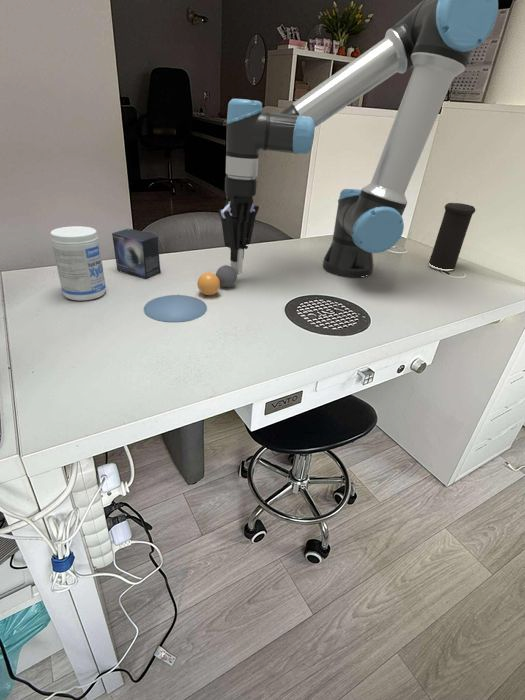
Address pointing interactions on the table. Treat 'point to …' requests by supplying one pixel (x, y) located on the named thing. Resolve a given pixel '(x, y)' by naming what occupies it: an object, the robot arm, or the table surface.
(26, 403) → the table surface
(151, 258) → the small box
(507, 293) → the table surface
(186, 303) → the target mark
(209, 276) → the orange ball
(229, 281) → the charcoal ball
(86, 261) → the supplement tub
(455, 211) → the container
